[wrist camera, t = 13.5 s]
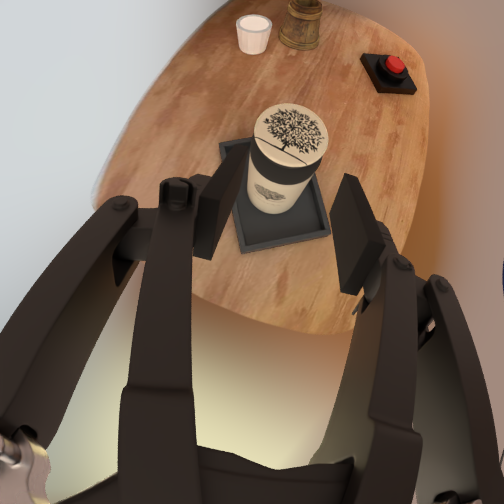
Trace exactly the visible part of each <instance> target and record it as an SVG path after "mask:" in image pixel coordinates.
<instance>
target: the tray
mask: <svg viewBox="0 0 504 504" xmlns="http://www.w3.org/2000/svg"><path fill="white" fill-rule="evenodd" d="M251 139H252V137H249V138H243V139H238V140H232V141H226V142H221V143H219V149H220V154H221V159H222V162H223V160H224V159H225V157H226V156H227V155H228V153H229V152H230V150H231V149H232V148H233V146H234V145H235V144H239V145H244V146H248V147H249V148H248V153H247V158H246V162H245V167H244V172H243V177H242V181H241V186H240V191H239V193H238V195H237V198H236V200H235V203H234V205H233V207H232V213H233V217H234V222H235V227H236V232H237V237H238V241H239V246H240V251H241V254H245V253H250V252H255V251H260V250H265V249H269V248H274V247H279V246H284V245H288V244H293V243H298V242H303V241H307V240H312V239H317V238H322V237H327V236H328V235H330V234H331V230H330V226H329V222H328V218H327V214H326V211H325V207H324V203H323V199H322V196H321V192H320V189H319V185H318V182H317V178H316V175H315V173H314V174H313V176H312V177H311V179H310V180H309V182H308V184H307V185H306V187H305V188H304V190H303V191H302V193H301V194H300V196H299V197H298V199H297V200H296V202H295V203H294V205H293V206H292V207H291V208H290V209H288V210H287V211H285V212H282V213H279V214H269V213H265V212H263V211H261V210H259V209H257V208H256V207H255V206H254V205H253V204H252V202H251V201H250V199H249V197H248V193H247V182H248V170H249V157H250V145H251Z"/></svg>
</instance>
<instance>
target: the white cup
mask: <svg viewBox="0 0 504 504" xmlns="http://www.w3.org/2000/svg"><path fill="white" fill-rule="evenodd" d="M236 26H237V34H238V42H239V48H240V50H241V51H242V52H244V53H247V54H252V55H255V54H260V53H262V52H264V51H265V50H266V46H267V42H268V39H269V35H270V31H271V27H272V22H271V20H269V19H268V18H267V17H264V16H261V15H254V14H253V15H246V16H243V17H241V18H239V19H238V20H237V22H236Z"/></svg>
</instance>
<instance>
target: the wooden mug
mask: <svg viewBox="0 0 504 504" xmlns="http://www.w3.org/2000/svg"><path fill="white" fill-rule="evenodd" d="M287 9H288V11H287V14H286V17H285V20H284V22H283V25H282V26H281V28H280V32H279V39H280V40H281V41H282V42H283V43H284V44H286V45H287V46H289V47H292V48H295V49H300V50H310V49H313V48H316V46H317V45H318V42H319V25H320V17H321V16H322V4H321V2H319V1H318V0H291V1H290V2H289V5H288V7H287Z"/></svg>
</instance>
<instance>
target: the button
mask: <svg viewBox="0 0 504 504" xmlns="http://www.w3.org/2000/svg"><path fill="white" fill-rule="evenodd" d="M385 64H386V66H387V68H388V69H390V70H391V71H392V72H394V73H396V74H400V73H401V72H402V71H403V69H404V68H405V65H404V63H403V62H402V61H401V60H400V59H399V58H397V57H395V56H389V57H388V59H387V60H386V62H385Z"/></svg>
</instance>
